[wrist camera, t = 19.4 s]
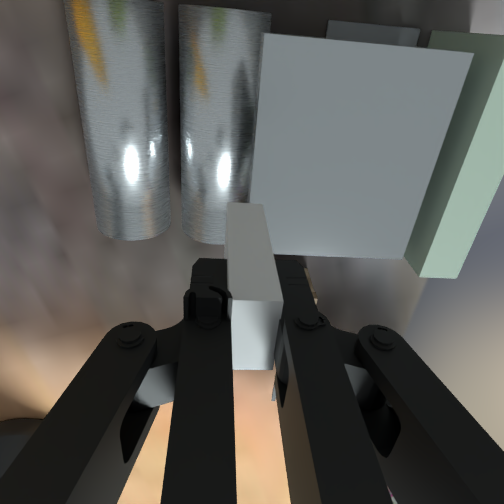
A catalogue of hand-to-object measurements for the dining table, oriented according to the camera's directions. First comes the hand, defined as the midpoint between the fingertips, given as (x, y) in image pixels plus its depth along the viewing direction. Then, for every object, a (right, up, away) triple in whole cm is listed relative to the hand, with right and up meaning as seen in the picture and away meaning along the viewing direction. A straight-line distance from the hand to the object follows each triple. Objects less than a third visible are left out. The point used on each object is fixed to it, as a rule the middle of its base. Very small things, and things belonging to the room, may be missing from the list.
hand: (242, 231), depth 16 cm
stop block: (+15, +9, +16) cm, 24 cm away
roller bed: (-5, +10, +14) cm, 18 cm away
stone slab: (+6, +6, +10) cm, 13 cm away
